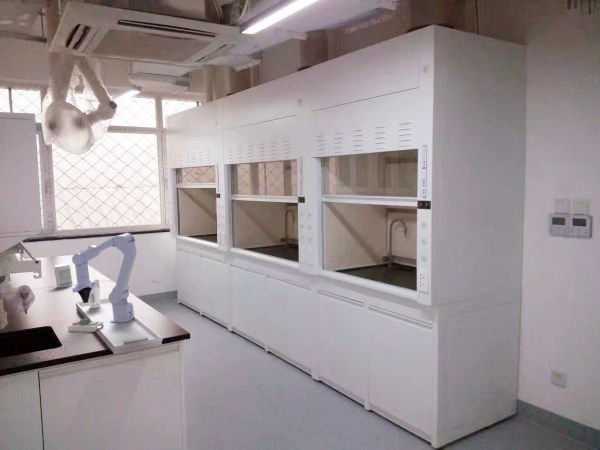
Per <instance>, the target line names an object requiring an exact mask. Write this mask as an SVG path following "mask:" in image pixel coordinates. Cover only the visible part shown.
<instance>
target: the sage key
mask: <svg viewBox="0 0 600 450" xmlns="http://www.w3.org/2000/svg"><path fill="white" fill-rule="evenodd" d="M98 322H99V321H92V322H91V323H89V325H96V324H98Z"/></svg>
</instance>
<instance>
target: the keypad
mask: <svg viewBox="0 0 600 450" xmlns="http://www.w3.org/2000/svg"><path fill="white" fill-rule="evenodd" d="M91 322H92V321H91V320H90V323H91ZM97 322H98V324H96V325H89V324H88V325H81V324H79V325H73V324H72V323H71V324H69V325H67V330H68V332H89V333H90V332H91V333H92V332H96V331H97V330H96V329H97V326H102V325H103V326H104V322H103V321H97Z"/></svg>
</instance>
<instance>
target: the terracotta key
mask: <svg viewBox="0 0 600 450" xmlns="http://www.w3.org/2000/svg"><path fill="white" fill-rule="evenodd" d="M71 324H73V325H79V324H80V320H76V321H73V322H72V323H71Z"/></svg>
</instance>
